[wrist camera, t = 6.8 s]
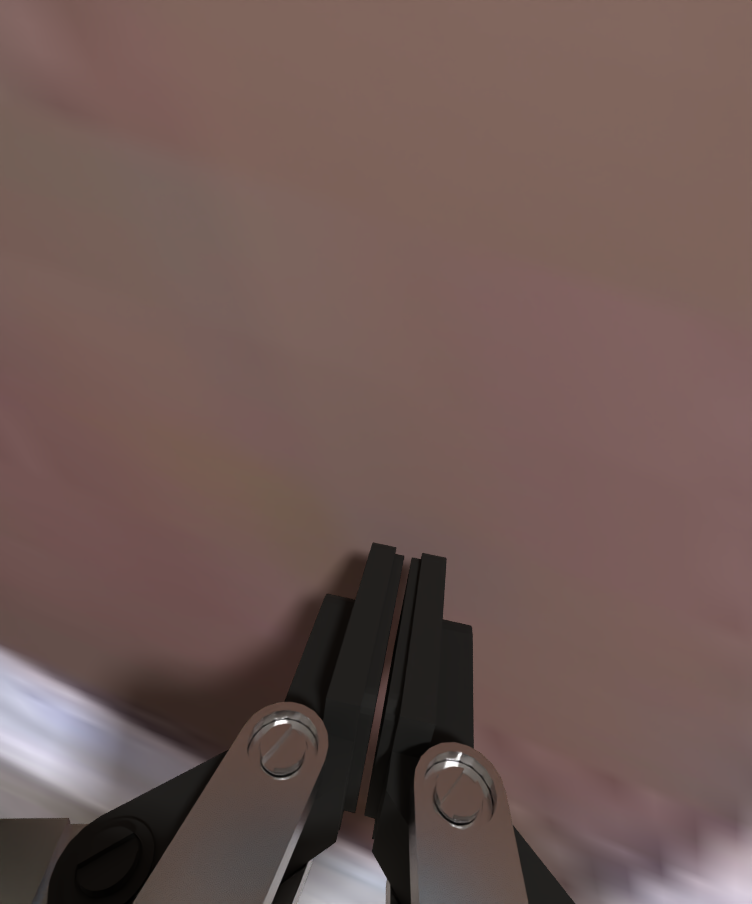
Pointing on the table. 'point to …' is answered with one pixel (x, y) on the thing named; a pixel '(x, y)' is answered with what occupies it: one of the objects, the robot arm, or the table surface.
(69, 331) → the table surface
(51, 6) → the table surface
